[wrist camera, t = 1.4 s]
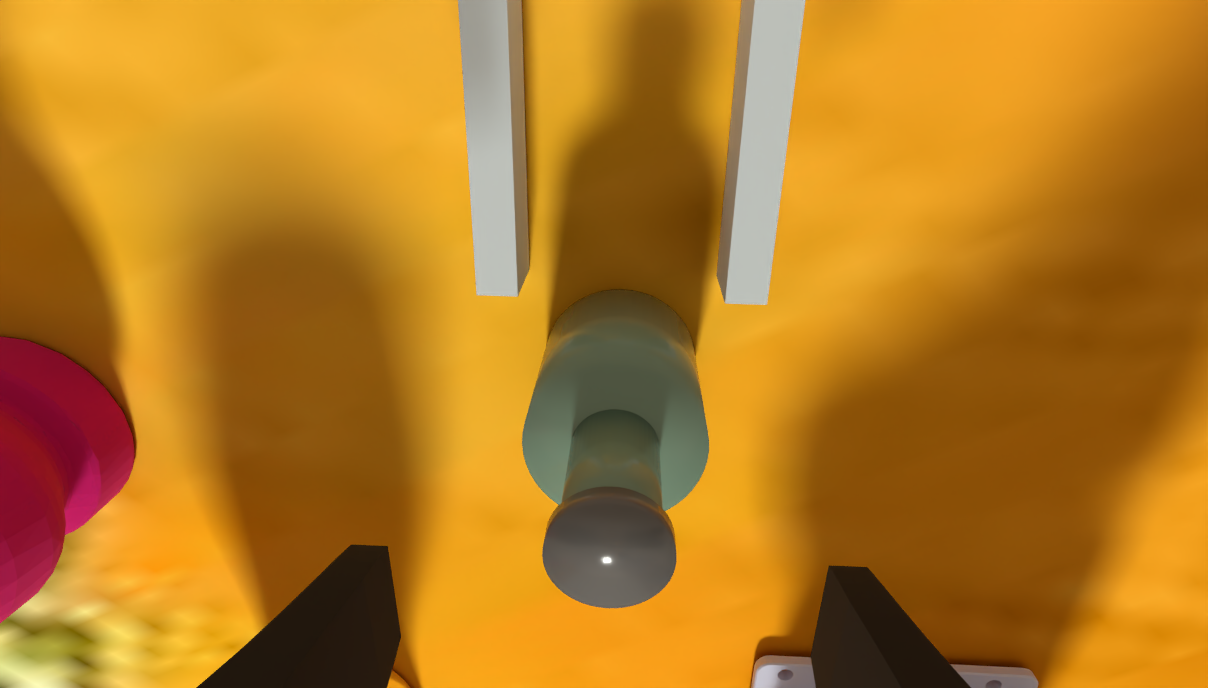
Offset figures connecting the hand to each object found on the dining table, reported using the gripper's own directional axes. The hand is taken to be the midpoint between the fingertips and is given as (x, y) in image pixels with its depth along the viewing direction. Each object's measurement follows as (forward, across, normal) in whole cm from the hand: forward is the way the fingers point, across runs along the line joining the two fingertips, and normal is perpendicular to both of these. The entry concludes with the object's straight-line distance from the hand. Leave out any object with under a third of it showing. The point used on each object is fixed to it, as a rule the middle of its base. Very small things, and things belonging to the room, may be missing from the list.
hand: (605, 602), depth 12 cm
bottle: (+9, 0, 0) cm, 9 cm away
